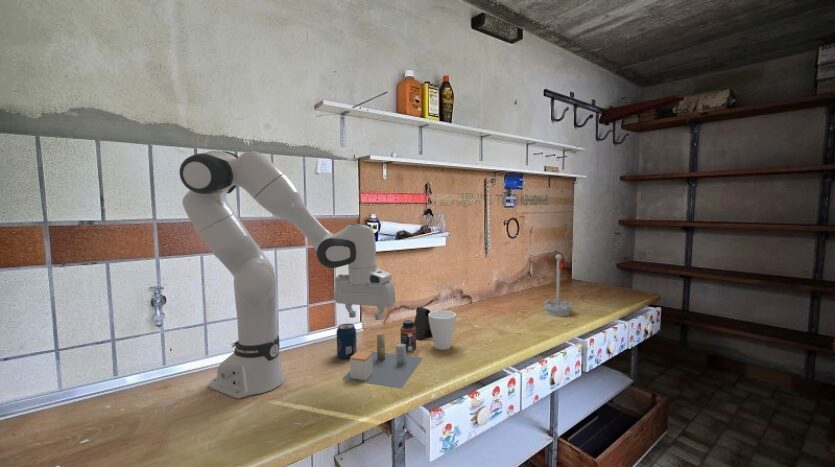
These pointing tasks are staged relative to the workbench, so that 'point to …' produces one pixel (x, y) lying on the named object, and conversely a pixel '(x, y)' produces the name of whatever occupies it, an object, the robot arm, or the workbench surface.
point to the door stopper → (422, 324)
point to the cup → (442, 328)
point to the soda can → (346, 341)
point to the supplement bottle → (408, 335)
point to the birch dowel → (380, 346)
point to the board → (389, 371)
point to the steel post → (401, 354)
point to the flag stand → (558, 298)
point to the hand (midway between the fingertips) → (365, 318)
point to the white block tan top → (361, 365)
